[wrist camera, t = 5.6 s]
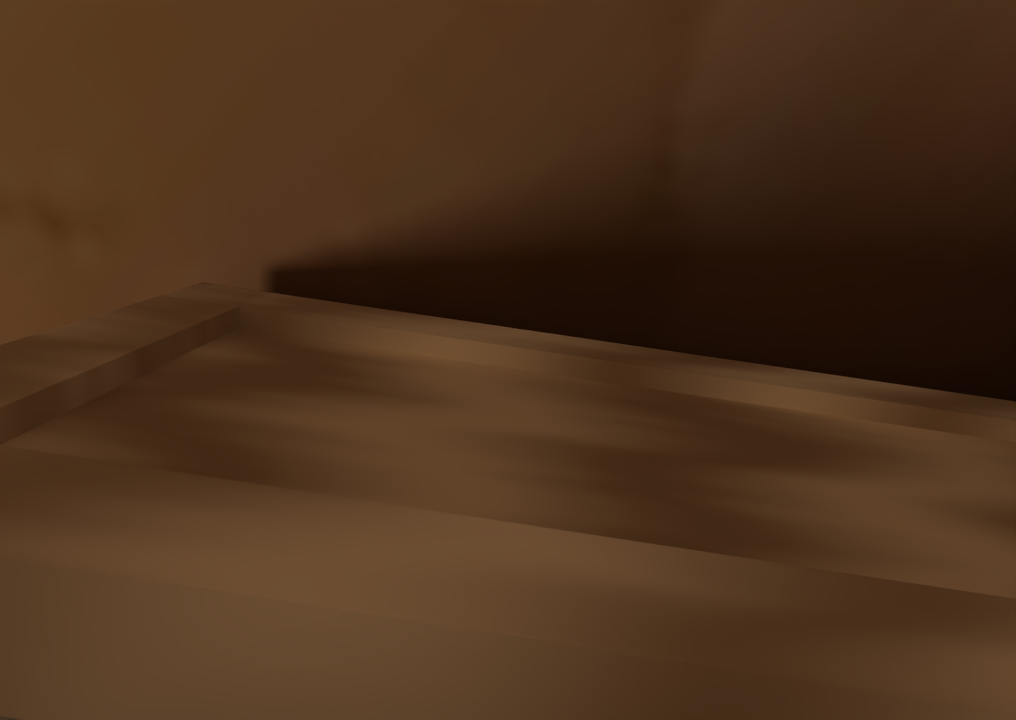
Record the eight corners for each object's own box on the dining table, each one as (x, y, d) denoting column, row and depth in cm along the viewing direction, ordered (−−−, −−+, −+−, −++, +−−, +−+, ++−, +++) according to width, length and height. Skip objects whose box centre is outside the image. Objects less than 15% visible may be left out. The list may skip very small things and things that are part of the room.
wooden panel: (1079, 410, 14) (2182, 892, 5) (1051, 474, 14) (2001, 1033, 5) (202, 282, 14) (-458, 486, 5) (202, 349, 15) (-399, 653, 5)
